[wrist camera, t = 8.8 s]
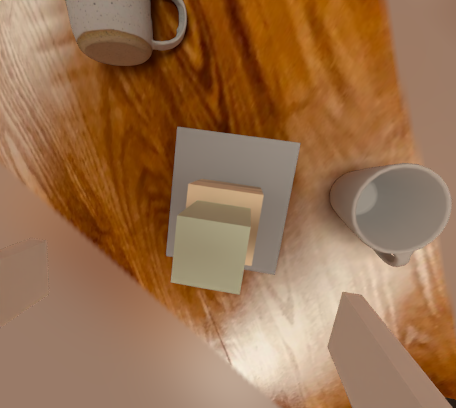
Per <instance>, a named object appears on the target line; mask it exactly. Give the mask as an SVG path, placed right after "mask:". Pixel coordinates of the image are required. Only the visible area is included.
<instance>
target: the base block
mask: <svg viewBox="0 0 456 408" xmlns="http://www.w3.org/2000/svg"><path fill="white" fill-rule="evenodd" d="M263 197H264V194H263V192H262V189H261V187H254V186H247V185H241V184H234V183H227V182H220V181H214V180H207V179H200V180H197V181H194V182H192V183H189V184H188V191H187V201H186V208H188V207H189V206H190V205H192V204H193V203H194V202H196V201H197V200H199V201H206V202H212V203H219V204H225V205H232V206H238V207H245V208H251V229H250V235H249V241H248V247H247V253H246V259H245V265H248V266H252V261H253V255H254V249H255V243H256V237H257V232H258V226H259V220H260V214H261V208H262V203H263Z"/></svg>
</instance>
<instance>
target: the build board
mask: <svg viewBox="0 0 456 408" xmlns="http://www.w3.org/2000/svg"><path fill="white" fill-rule="evenodd" d="M299 148H300V143H296V142H289V141H281V140H274V139H266V138H259V137H251V136H244V135H236V134H229V133H221V132H214V131H206V130H199V129H191V128H184V127H177V137H176V148H175V159H174V171H173V182H172V193H171V205H170V216H169V227H168V239H167V250H166V256H170V257H173V253H174V242H175V232H176V221H177V215H178V214H180V213H181V212H182V211H184V210H185V209H186V201H187V191H188V184H189V183H192V182H194V181H197V180H200V179H207V180H214V181H220V182H227V183H234V184H241V185H247V186H254V187H261V189H262V192H263V194H264V197H263V203H262V208H261V214H260V220H259V226H258V232H257V237H256V243H255V249H254V255H253V261H252V266H248V265H244V269H245V270H250V271H256V272H262V273H268V274H273V275H275V271H276V266H277V261H278V256H279V251H280V246H281V241H282V235H283V230H284V225H285V220H286V215H287V210H288V205H289V200H290V195H291V189H292V184H293V179H294V174H295V169H296V164H297V159H298V154H299Z"/></svg>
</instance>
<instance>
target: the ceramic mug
mask: <svg viewBox="0 0 456 408" xmlns="http://www.w3.org/2000/svg"><path fill="white" fill-rule="evenodd" d="M65 1H66V5H67V10H68V15H69V19H70V24H71V28H72V31H73V34H74V36H75V39H76V42H77V44H78V46H79V48H80V49H81V50H82V52H83V53H84V54H86V55H87V56H88V57H90V58H92V59H94V60H96V61H98V62H101V63H105V64H110V65H116V66H132V65H138V64H142V63H144V62H146V61H147V60H148V59H149V58H150V56H151V54H152V50H154V49H155V50H168V49H172V48H174V47H176V46H177V45H179V44H180V42H181V41H182V39H183V37H184V34H185V30H186V25H187V13H186V8H185V4H184V2H183V0H172V1H173V2H174V3H175V4H176V6H177V8H178V11H179V27H178V28H177V35H176V37H175V38H173V39H171V40H170V41H154V40H153V31H152V20H151V3H150V0H65Z"/></svg>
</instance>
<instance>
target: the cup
mask: <svg viewBox="0 0 456 408" xmlns="http://www.w3.org/2000/svg"><path fill="white" fill-rule="evenodd" d="M330 203H331V206H332V208H333V209H334V210H335V212H336V213H337V214H338V215H339V217H340V218H341V219H342V220H343V221H344V223H345V224H346V225H347V226H348V227H349V228H350V229H351V230H352V231H353V232H354V233H355V234H356V235H357V236H358V238H359V239H360V240H361V241H362V242H364V243H365V244H366V245H368V246H369V247H371V248H372V249H373V250H374V251H375V252H376V254H377V255H378V256H379V257H380V258H381V259H382V260H383V261H384V262H386V263H387V264H389V265H391V266H394V267H400V266H404V265H406V264H407V263H408V262H409V260H410V256H411V255H412V253H413V252H414V251H415V250H418V249H421V248H423V247H424V246H426V245H428V244H429V243H431V242H432V241H433V240H434V239H435V238H436V237H437V236H438V235H439V234H440V233H441V232H442V231H443V229H444V227H445V226H446V224H447V222H448V220H449V216H450V213H451V196H450V192H449V189H448V187H447V185H446V184H445V182H444V181H443V180H442V178H441V177H440V176H439V175H438V174H436V173H435V172H434V171H432V170H431V169H429V168H427V167H424V166H421V165H419V164H409V163H401V164H394V165H386V166H379V167H372V168H366V169H362V170H357V171H352V172H348V173H346V174H344V175H342V176H341V177H340V178H338V179H337V180H336V182H335V183H334V184H333V186H332V188H331V191H330ZM391 254H393V255H394V256H395V257H394V256H393V255H391Z"/></svg>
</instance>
